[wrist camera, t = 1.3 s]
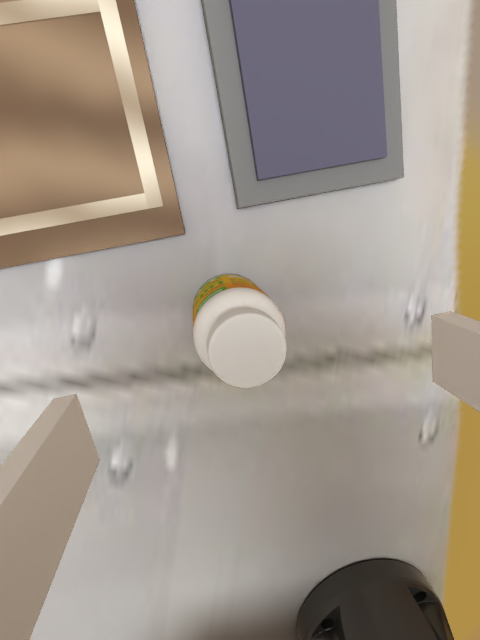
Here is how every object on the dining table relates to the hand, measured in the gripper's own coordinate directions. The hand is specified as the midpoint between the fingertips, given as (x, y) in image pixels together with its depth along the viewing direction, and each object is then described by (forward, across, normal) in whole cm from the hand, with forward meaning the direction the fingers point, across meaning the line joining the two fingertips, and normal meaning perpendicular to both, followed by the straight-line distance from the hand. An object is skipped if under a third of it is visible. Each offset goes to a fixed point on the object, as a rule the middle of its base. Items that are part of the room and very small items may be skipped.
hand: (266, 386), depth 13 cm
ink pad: (+14, -8, -14) cm, 21 cm away
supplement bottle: (+14, 0, 0) cm, 14 cm away
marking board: (+14, +9, -14) cm, 22 cm away
